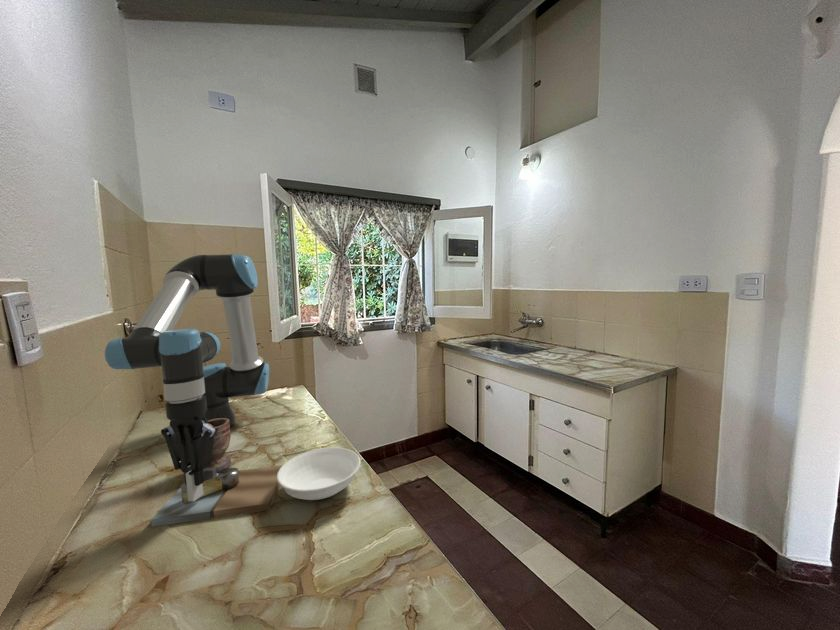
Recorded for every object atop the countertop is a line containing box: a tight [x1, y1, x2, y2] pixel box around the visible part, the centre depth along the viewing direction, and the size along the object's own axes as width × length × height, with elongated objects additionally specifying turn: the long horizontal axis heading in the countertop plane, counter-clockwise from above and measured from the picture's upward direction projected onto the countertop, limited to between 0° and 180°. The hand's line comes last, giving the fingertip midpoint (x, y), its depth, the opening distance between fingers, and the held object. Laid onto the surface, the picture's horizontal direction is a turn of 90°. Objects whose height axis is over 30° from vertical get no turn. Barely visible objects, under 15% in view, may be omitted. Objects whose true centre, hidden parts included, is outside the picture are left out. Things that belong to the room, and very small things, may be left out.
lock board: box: [150, 464, 284, 527], centre depth 82 cm, size 17×24×5 cm
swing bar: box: [180, 467, 239, 504], centre depth 81 cm, size 12×4×4 cm, turn 132°
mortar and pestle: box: [207, 418, 232, 473], centre depth 94 cm, size 12×9×20 cm
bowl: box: [277, 447, 362, 501], centre depth 82 cm, size 20×20×6 cm
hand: (196, 497), depth 77 cm, fingers closed
